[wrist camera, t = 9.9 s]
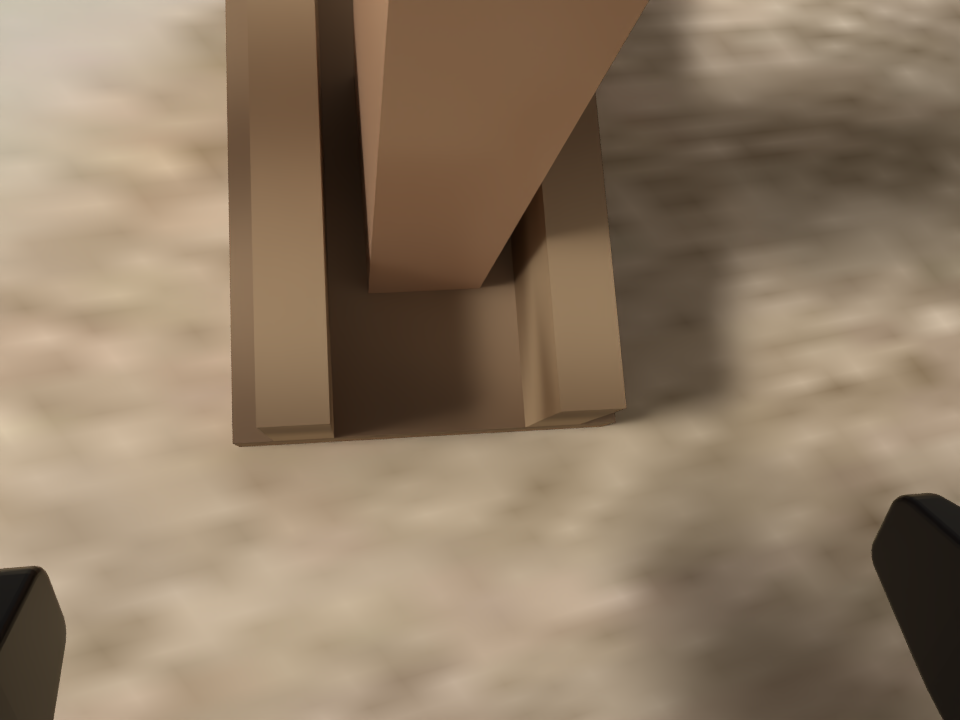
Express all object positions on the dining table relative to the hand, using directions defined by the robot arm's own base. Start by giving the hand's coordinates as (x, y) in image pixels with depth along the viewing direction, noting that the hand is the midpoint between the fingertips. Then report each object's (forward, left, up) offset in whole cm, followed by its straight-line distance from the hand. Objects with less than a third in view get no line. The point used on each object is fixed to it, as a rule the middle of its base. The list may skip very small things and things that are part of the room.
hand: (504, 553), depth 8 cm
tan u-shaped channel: (+7, -2, -9) cm, 12 cm away
